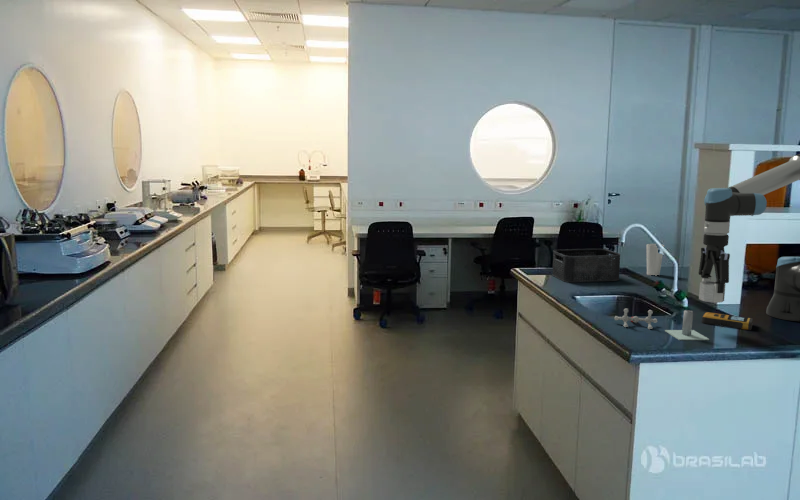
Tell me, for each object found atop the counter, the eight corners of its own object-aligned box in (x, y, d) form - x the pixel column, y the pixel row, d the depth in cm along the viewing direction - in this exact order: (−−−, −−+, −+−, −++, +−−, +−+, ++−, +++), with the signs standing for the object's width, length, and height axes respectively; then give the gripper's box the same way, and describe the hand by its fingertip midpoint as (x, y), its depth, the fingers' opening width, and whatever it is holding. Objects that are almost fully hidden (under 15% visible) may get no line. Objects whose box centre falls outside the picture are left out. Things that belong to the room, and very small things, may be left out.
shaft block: (693, 331, 202) (695, 307, 200) (709, 340, 192) (711, 315, 191) (664, 331, 202) (666, 307, 200) (679, 340, 192) (681, 315, 190)
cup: (645, 276, 295) (647, 245, 293) (642, 272, 303) (644, 243, 301) (663, 276, 293) (666, 246, 291) (660, 273, 301) (662, 244, 299)
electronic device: (704, 319, 219) (704, 310, 218) (752, 326, 210) (753, 317, 210) (700, 324, 212) (701, 315, 211) (750, 331, 203) (751, 322, 203)
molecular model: (612, 331, 215) (617, 330, 205) (611, 310, 216) (616, 308, 206) (654, 330, 212) (661, 329, 202) (652, 309, 213) (659, 307, 204)
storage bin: (565, 283, 278) (567, 255, 276) (549, 275, 297) (551, 249, 295) (621, 281, 282) (623, 254, 280) (602, 273, 301) (604, 248, 299)
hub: (715, 297, 206) (717, 280, 205) (727, 302, 199) (729, 285, 198) (695, 297, 206) (696, 280, 205) (706, 302, 199) (708, 285, 198)
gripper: (690, 230, 208) (686, 292, 212) (722, 238, 189) (717, 306, 192) (711, 229, 209) (706, 292, 212) (745, 237, 189) (739, 306, 192)
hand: (711, 298), depth 202 cm, fingers closed on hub, 7 cm apart
